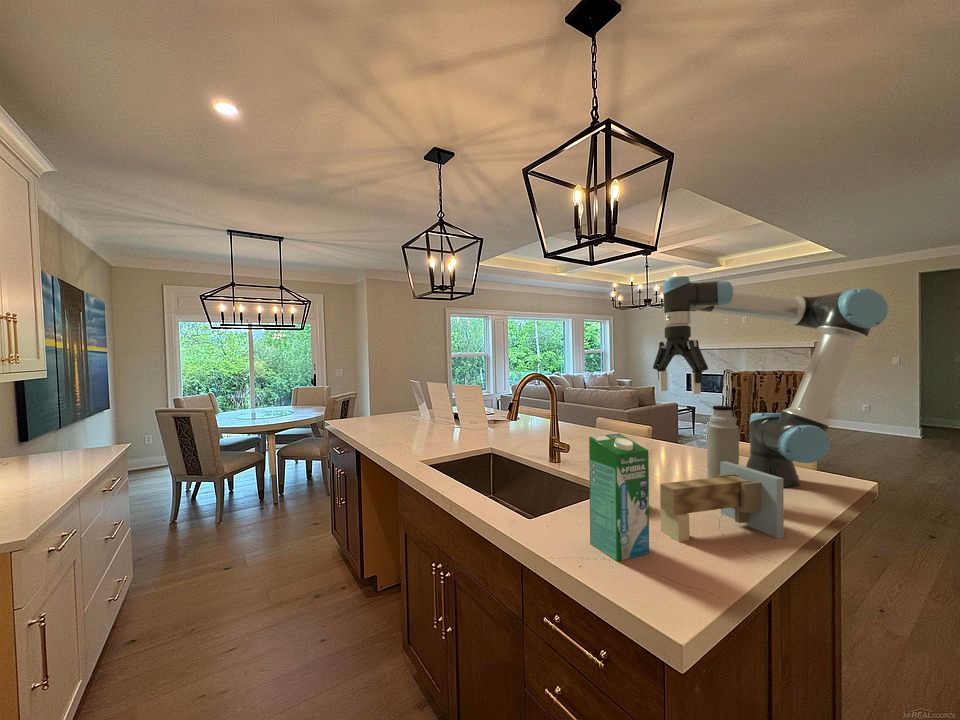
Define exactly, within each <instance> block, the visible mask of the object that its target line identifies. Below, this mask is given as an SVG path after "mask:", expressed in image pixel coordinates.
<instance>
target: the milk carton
mask: <svg viewBox="0 0 960 720" xmlns="http://www.w3.org/2000/svg"><path fill="white" fill-rule="evenodd" d="M588 441H589V442H588V443H589V445H588V446H589V447H588V448H589V450H588V451H589V452H588V454H589V456H588V458H589V461H588V462H589V463H588V464H589V534H590V535H589V536H590V537H589V544H590V545H592V546H594V548H597V549H598V550H599V551H601V552H603V553H604V554H605V555H606V556H608V557H610V558H611V559H613V560H615V561H616V562H621V561H624V560H629V559H632V558H635V557H638V556H643V555H645V554H649V553H650V498H649V497H650V491H649V490H650V488H649V487H650V484H649V483H650V481H649V480H650V479H649V478H650V477H649V474H650V473H649V469H650V468H649V467H650V465H649V462H650V461H649V458H650V457H649V449H647V448H645V447H644V446H642V445H640V444H639V443H636V442H635V441H633V440H632V439H630V438H628V437H626V436H625V435H623V434H621V433H611V434H603V435H601V434H600V435H591V436H589V437H588Z"/></svg>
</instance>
